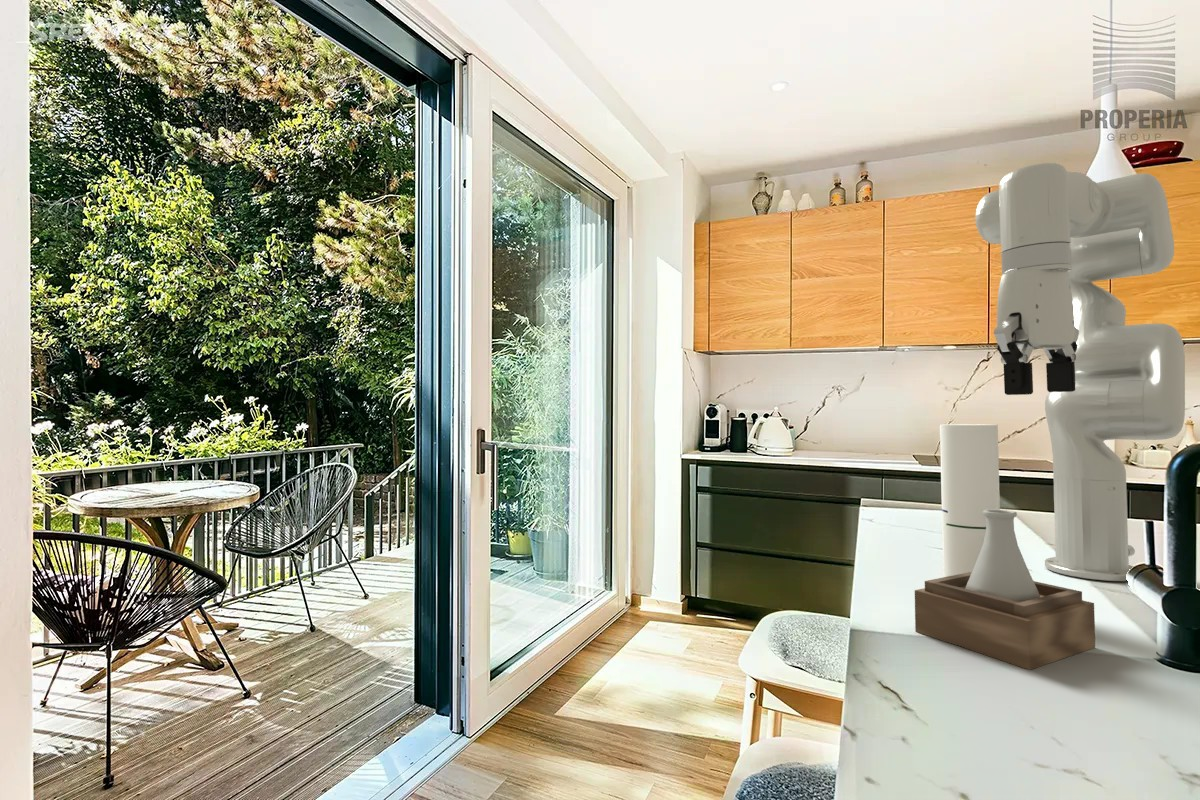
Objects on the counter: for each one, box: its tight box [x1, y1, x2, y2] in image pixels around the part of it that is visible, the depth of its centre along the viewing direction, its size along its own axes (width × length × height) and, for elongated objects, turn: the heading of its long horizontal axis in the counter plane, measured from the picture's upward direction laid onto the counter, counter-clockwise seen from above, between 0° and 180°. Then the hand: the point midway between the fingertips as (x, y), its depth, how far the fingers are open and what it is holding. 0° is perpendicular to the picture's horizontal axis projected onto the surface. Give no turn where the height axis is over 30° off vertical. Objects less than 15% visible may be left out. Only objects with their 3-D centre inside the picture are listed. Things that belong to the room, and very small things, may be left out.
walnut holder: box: [914, 572, 1096, 671], centre depth 73 cm, size 13×13×6 cm
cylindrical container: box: [939, 423, 1001, 578], centre depth 88 cm, size 7×7×25 cm
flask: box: [965, 509, 1040, 602], centre depth 73 cm, size 7×7×10 cm
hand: (1040, 393), depth 82 cm, fingers open, 9 cm apart
